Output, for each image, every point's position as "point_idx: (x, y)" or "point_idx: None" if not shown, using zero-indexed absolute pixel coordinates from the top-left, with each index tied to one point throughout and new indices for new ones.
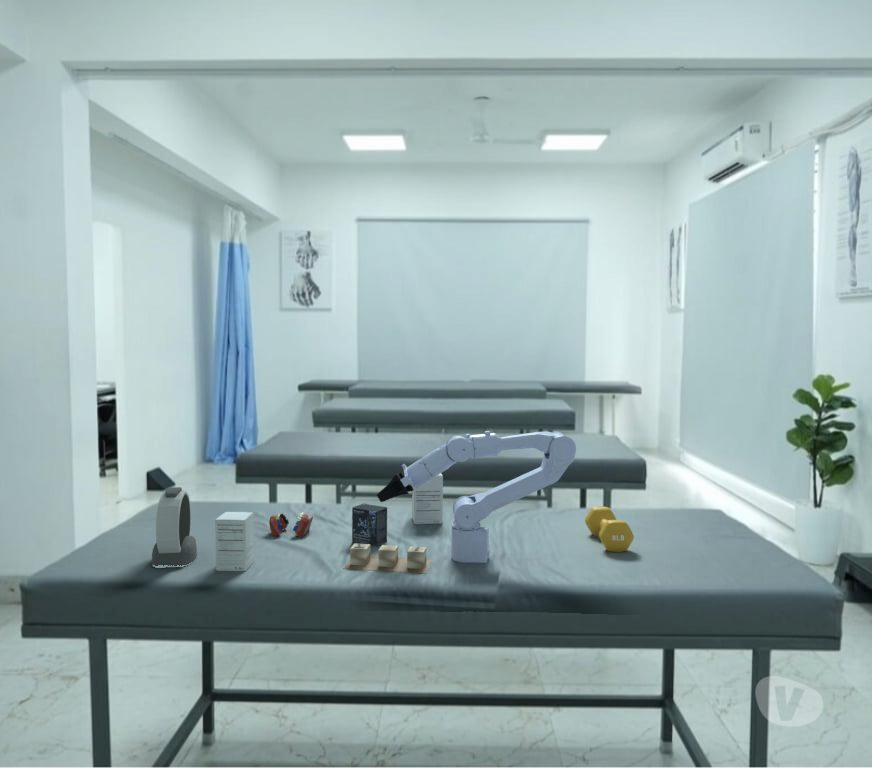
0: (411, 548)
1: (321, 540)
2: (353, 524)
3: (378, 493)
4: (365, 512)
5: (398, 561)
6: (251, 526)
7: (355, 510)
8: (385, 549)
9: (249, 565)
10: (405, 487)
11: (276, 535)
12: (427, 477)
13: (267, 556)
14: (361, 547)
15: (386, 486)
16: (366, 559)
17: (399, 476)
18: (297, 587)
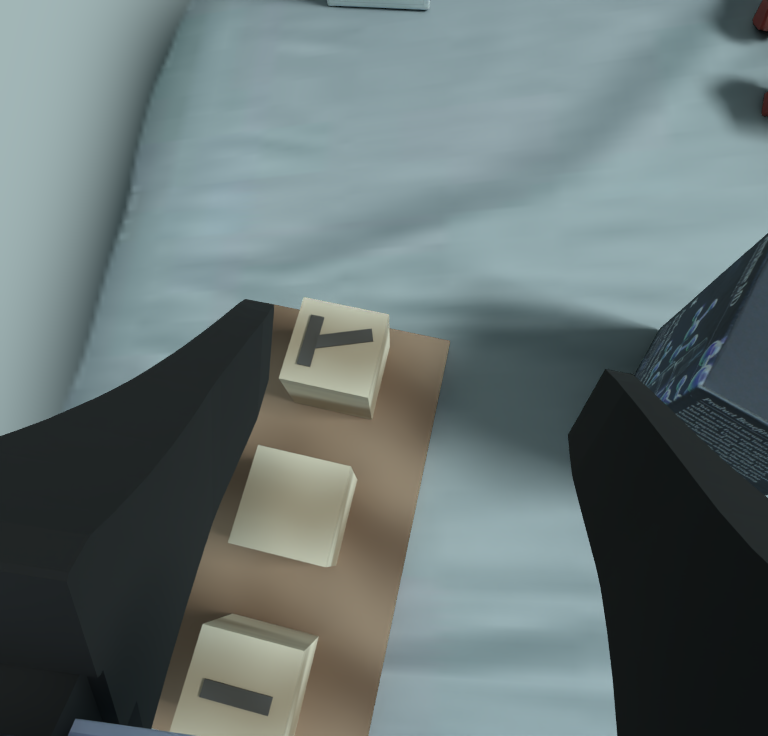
0: (257, 657)
1: (729, 193)
2: (712, 283)
3: (232, 309)
4: (725, 316)
5: (340, 567)
6: None
7: (762, 247)
8: (259, 485)
9: (365, 2)
10: (656, 719)
11: (757, 24)
12: None
13: (490, 39)
14: (304, 351)
15: (142, 375)
16: (291, 395)
17: (45, 628)
18: (134, 172)
